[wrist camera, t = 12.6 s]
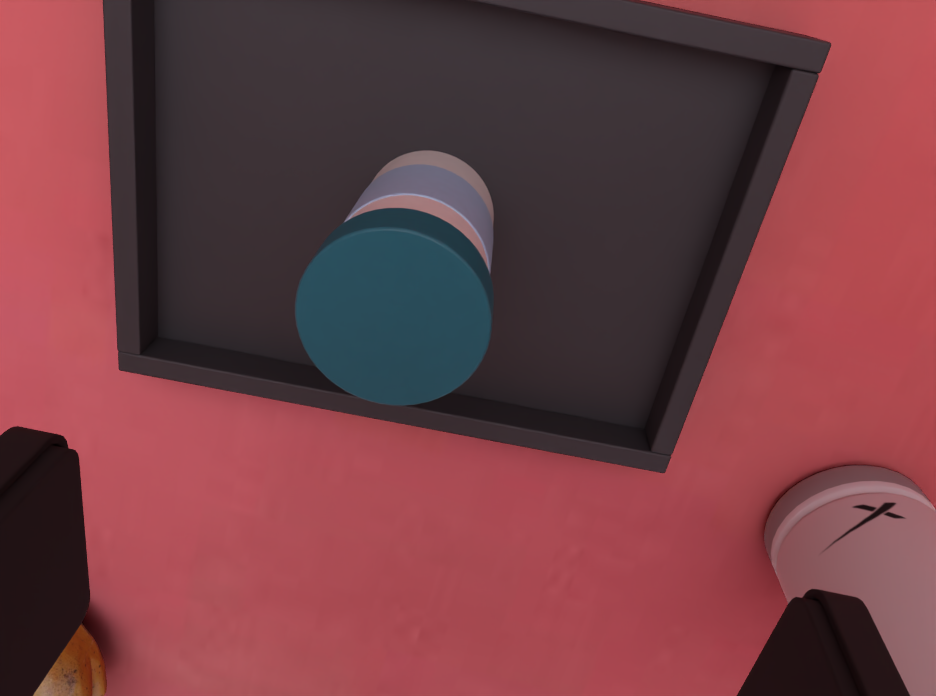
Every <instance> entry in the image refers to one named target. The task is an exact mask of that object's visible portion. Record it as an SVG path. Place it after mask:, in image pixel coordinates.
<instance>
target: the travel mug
mask: <svg viewBox="0 0 936 696" xmlns="http://www.w3.org/2000/svg"><path fill="white" fill-rule="evenodd" d="M764 541H765V548H766V551H767V553H768V556H769V558H770V560H771V563H772V565H773V568H774V570H775V573H776V575H777V578H778V580H779V582H780V585H781V587H782V590H783V592H784V595H785V597H786V600H787V602H788V604H789V602H790V601H791V600H792V599H793V598H795V597H801V598H802V597H803V596H804V594H805V593H806V592H807V591H809V590H810V589H819V590H824V591H829V592H834V593H839V594H843V595H848V596H853V597H857V598H859V599H860V600H862V601H863V602H864V604H865V605H866V607H867V608H868V611H869V613H870V615H871V617H872V619H873V621H874V623H875V625H876V627H877V629H878V631H879V633H880V635H881V637H882V639H883V641H884V643H885V645H886V647H887V649H888V651H889V653H890V655H891V657H892V660H893V662H894V664H895V666H896V668H897V670H898V672H899V674H900V676H901V678H902V680H903V682H904V684H905V686H906V688H907V690H908V692H909V694H910V696H936V509H935V508H934V506H933V505H932V504H931V502H930V501H929V500H928V498H927V497H926V496H925V494H924V493H923V492H922V490H921V489H920V488H919V487H918V486H917V485H916V484H915V483H914V482H913V481H912V480H910V479H909V478H907V477H905V476H903V475H902V474H900V473H898V472H895V471H892V470H889V469H886V468H882V467H875V466H869V465H849V466H843V467H837V468H832V469H829V470H826V471H822V472H819V473H817V474H814V475H812V476H810V477H808V478H806V479H804V480H802V481H801V482H799V483H798V484H797V485H795V486H794V487H792V488H791V489H789V490H788V491H787V492H786V493H785V494H784V495H783V496H782V497H781V498H780V499H779V501H778V502H777V503H776V505H775V506H774V508H773V509H772V511H771V513H770V515H769V517H768V520H767V522H766V525H765V532H764Z"/></svg>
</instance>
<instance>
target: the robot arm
mask: <svg viewBox="0 0 936 696" xmlns="http://www.w3.org/2000/svg"><path fill="white" fill-rule="evenodd" d="M89 601H90V589H89V576H88V564H87V552H86V539H85V527H84V515H83V502H82V490H81V478H80V466H79V457H78V453H77V452H76V450H73V449H68V445H67V441H66V439H65V438H64V436H61V435H58V434H53V433H48V432H43V431H38V430H33V429H28V428H23V427H18V426H16V427H12V428H10V429H8V430H7V431H6V432H4V433H3V434H2V435H1V436H0V696H33V695H34V693H35V692H36V690H37V689H38V687H39V686H40V684H41V683H42V681H43V680H44V678H45V677H46V675H47V674H48V672H49V671H50V669H51V668H52V667H53V665H54V664H55V662H56V661H57V659H58V658H59V656H60V655H61V653H62V652H63V650H64V649H65V647H66V646H67V644H68V643H69V641H70V640H71V638H72V637H73V635H74V634H75V632H76V631H77V629H78V628H79V626H80V625H81V623H82V621H83V619H84V617H85V615H86V612H87V609H88V606H89ZM737 696H910V694H909V692H908V690H907V688H906V686H905V684H904V682H903V680H902V678H901V676H900V674H899V672H898V670H897V668H896V666H895V664H894V662H893V660H892V657H891V655H890V653H889V651H888V649H887V647H886V645H885V643H884V641H883V639H882V637H881V635H880V633H879V631H878V629H877V627H876V625H875V623H874V621H873V619H872V617H871V615H870V613H869V611H868V608H867V607H866V605H865V604H864V602H863V601H862V600H860V599H859V598H857V597H853V596H848V595H843V594H839V593H834V592H829V591H824V590H819V589H810V590H809V591H807V592H806V593H805V594H804V596H803V597H802V598H801V597H795V598H793V599H792V600H791V601H790V602H789V604H788V605H787V607H786V609H785V611H784V613H783V614H782V616H781V618H780V620H779V621H778V623H777V625H776V627H775V629H774V630H773V632H772V634H771V636H770V637H769V639H768V641H767V643H766V645H765V646H764V648H763V650H762V652H761V654H760V655H759V657H758V659H757V661H756V662H755V664H754V666H753V668H752V670H751V671H750V673H749V675H748V677H747V678H746V680H745V682H744V684H743V686H742V687H741V689H740V691H739V693H738V695H737Z"/></svg>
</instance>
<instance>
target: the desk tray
mask: <svg viewBox="0 0 936 696" xmlns="http://www.w3.org/2000/svg"><path fill="white" fill-rule="evenodd" d="M103 15H104V39H105V63H106V86H107V110H108V134H109V158H110V182H111V205H112V229H113V253H114V277H115V301H116V324H117V348H118V351H119V352H118V361H119V370H121V371H126V372H131V373H137V374H142V375H147V376H152V377H158V378H163V379H168V380H174V381H179V382H184V383H189V384H195V385H200V386H205V387H211V388H216V389H221V390H226V391H232V392H237V393H242V394H248V395H253V396H258V397H263V398H269V399H274V400H279V401H285V402H290V403H295V404H300V405H306V406H311V407H316V408H322V409H327V410H332V411H337V412H343V413H348V414H353V415H359V416H364V417H369V418H374V419H380V420H385V421H390V422H396V423H401V424H406V425H411V426H417V427H422V428H427V429H433V430H438V431H443V432H448V433H454V434H459V435H464V436H470V437H475V438H480V439H485V440H491V441H496V442H501V443H507V444H512V445H517V446H522V447H528V448H533V449H538V450H544V451H549V452H554V453H559V454H565V455H570V456H575V457H581V458H586V459H591V460H596V461H602V462H607V463H612V464H618V465H623V466H628V467H633V468H639V469H644V470H649V471H655V472H660V473H665V471H666V469H667V466H668V464H669V461H670V458H671V455H672V453H673V451H674V448H675V445H676V443H677V440H678V438H679V435H680V433H681V430H682V427H683V425H684V422H685V420H686V417H687V415H688V412H689V409H690V407H691V404H692V402H693V399H694V397H695V394H696V391H697V389H698V386H699V384H700V381H701V378H702V376H703V373H704V371H705V368H706V366H707V363H708V360H709V358H710V355H711V353H712V350H713V348H714V345H715V342H716V340H717V337H718V335H719V332H720V330H721V327H722V324H723V322H724V319H725V317H726V314H727V312H728V309H729V306H730V304H731V301H732V299H733V296H734V294H735V291H736V288H737V286H738V283H739V281H740V278H741V275H742V273H743V270H744V268H745V265H746V263H747V260H748V257H749V255H750V252H751V250H752V247H753V245H754V242H755V239H756V237H757V234H758V232H759V229H760V227H761V224H762V221H763V219H764V216H765V214H766V211H767V209H768V206H769V203H770V201H771V198H772V196H773V193H774V191H775V188H776V185H777V183H778V180H779V178H780V175H781V172H782V170H783V167H784V165H785V162H786V160H787V157H788V154H789V152H790V149H791V147H792V144H793V142H794V139H795V136H796V134H797V131H798V129H799V126H800V124H801V121H802V118H803V116H804V113H805V111H806V108H807V106H808V103H809V100H810V98H811V95H812V93H813V90H814V88H815V85H816V82H817V80H818V74H817V73H820V72H821V70H822V68H823V65H824V63H825V60H826V57H827V55H828V52H829V50H830V47H831V43H830V42H827V41H823V40H820V39H817V38H813V37H810V36H807V35H802V34H798V33H793V32H788V31H783V30H779V29H774V28H769V27H764V26H760V25H755V24H750V23H745V22H741V21H736V20H731V19H726V18H721V17H717V16H712V15H707V14H702V13H698V12H693V11H688V10H683V9H679V8H674V7H669V6H664V5H660V4H655V3H650V2H645V1H641V0H103ZM415 151H438V152H442V153H446V154H449V155H452V156H454V157H457V158H458V159H460V160H462V161H463V162H465V163H466V164H468V165H469V166H470V167H471V168H472V169H473V170H474V171H475V172H476V173H477V174H478V175H479V176H480V177H481V179H482V180H483V182H484V183H485V185H486V187H487V189H488V191H489V193H490V196H491V200H492V203H493V211H494V222H493V250H492V261H491V272H490V277H491V280H492V285H493V292H494V306H493V320H492V331H491V338H490V342H489V345H488V349H487V351H486V354H485V356H484V358H483V360H482V362H481V363H480V365H479V366H478V368H477V369H476V371H475V372H474V373H473V374H472V375H471V376H470V378H469V379H468V380H466V381H465V382H464V383H463V384H462V385H461V386H459V387H458V388H456V389H455V390H453V391H452V392H450V393H449V394H447V395H444V396H442V397H440V398H438V399H435V400H432V401H429V402H425V403H421V404H416V405H405V406H401V405H386V404H379V403H375V402H371V401H367V400H365V399H362V398H359V397H357V396H355V395H353V394H351V393H349V392H347V391H345V390H343V389H342V388H340V387H339V386H337V385H335V384H334V383H333V382H332V381H331V380H329V379H328V378H327V377H326V376H325V375H324V374H323V373H322V372H321V371H320V370H319V369H318V368H317V367H316V365H315V364H314V363H313V361H312V360H311V359H310V357H309V355H308V354H307V352H306V350H305V349H304V346H303V344H302V341H301V339H300V337H299V333H298V329H297V326H296V318H295V299H296V293H297V288H298V285H299V282H300V279H301V277H302V275H303V273H304V271H305V269H306V267H307V266H308V264H309V263H310V261H311V260H312V258H313V257H314V255H315V254H316V252H317V251H318V249H319V248H320V247H321V245H322V244H323V242H324V241H325V239H326V238H327V237H328V236H329V235H330V234H331V233H332V232H333V231H334V230H335V229H336V228H337V227H339V226H340V225H341V224H343V223H344V221H345V220H346V218H347V216H348V215H349V213H350V212H351V210H352V209H353V207H354V206H355V204H356V203H357V201H358V199H359V198H360V196H361V195H362V193H363V192H364V191H365V189H366V188H367V187H368V186H369V185H370V184H371V182H372V181H373V179H374V178H375V176H376V175H377V174H378V172H379V171H380V170H381V169H382V168H383V167H384V166H385V165H387V164H388V163H389V162H390V161H392V160H394V159H395V158H397V157H399V156H402V155H404V154H407V153H411V152H415Z"/></svg>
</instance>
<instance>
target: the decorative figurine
mask: <svg viewBox="0 0 936 696" xmlns="http://www.w3.org/2000/svg"><path fill="white" fill-rule="evenodd" d="M83 625H84V624H83V623H81V625H80V626H79V628H78V629H77V631H76V632H75V634H74V635H73V637H72V638H71V640H70V641H69V643H68V644H67V646H66V647H65V649H64V650H63V652H62V653H61V655H60V656H59V658H58V659H57V661H56V662H55V664H54V665H53V667H52V668H51V669H50V671H49V672H48V674H47V675H46V677H45V678H44V680H43V681H42V683H41V684H40V686H39V687H38V689H37V690H36V692H35V693H34V695H33V696H104V695H105V693H106V689H107V680H106V671H105V664H104V660H103V657H102V654H101V652H100V649H99V647H98V645H97V643H96V641H95V640H94V638H93V637H92V635H91V634H90V633H89V631H88V630H87V629H86V628H85V626H83Z"/></svg>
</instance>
